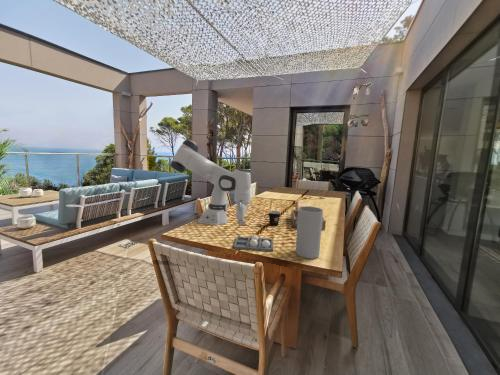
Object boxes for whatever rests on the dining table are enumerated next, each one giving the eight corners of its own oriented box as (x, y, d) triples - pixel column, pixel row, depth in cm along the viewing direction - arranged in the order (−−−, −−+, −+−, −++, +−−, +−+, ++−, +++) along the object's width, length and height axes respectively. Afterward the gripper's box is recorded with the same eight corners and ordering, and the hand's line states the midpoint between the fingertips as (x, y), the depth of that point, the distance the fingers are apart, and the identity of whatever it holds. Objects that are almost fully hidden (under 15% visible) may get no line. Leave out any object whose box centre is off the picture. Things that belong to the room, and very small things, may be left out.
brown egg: (245, 227, 122) (245, 218, 122) (236, 226, 122) (237, 218, 122) (246, 225, 127) (246, 217, 126) (238, 224, 127) (238, 216, 127)
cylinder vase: (323, 258, 116) (327, 212, 112) (300, 259, 114) (304, 212, 110) (312, 248, 128) (316, 206, 124) (292, 249, 126) (295, 206, 122)
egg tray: (233, 249, 123) (233, 246, 123) (237, 239, 138) (237, 236, 138) (273, 252, 121) (273, 249, 121) (272, 241, 136) (272, 238, 136)
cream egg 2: (249, 248, 124) (249, 240, 123) (249, 245, 128) (250, 237, 128) (257, 249, 123) (257, 241, 123) (257, 245, 128) (258, 238, 127)
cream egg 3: (261, 249, 123) (261, 241, 123) (261, 245, 128) (262, 238, 127) (269, 249, 123) (270, 242, 122) (269, 246, 127) (270, 238, 127)
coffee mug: (279, 223, 172) (280, 211, 170) (279, 227, 163) (280, 214, 162) (264, 222, 173) (264, 210, 171) (263, 226, 164) (264, 213, 163)
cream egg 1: (250, 243, 131) (250, 236, 130) (250, 240, 135) (251, 233, 135) (258, 244, 130) (258, 236, 130) (258, 240, 135) (258, 233, 134)
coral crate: (293, 228, 162) (294, 218, 161) (290, 218, 187) (291, 210, 186) (324, 230, 160) (325, 220, 159) (317, 219, 185) (318, 211, 184)
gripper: (245, 202, 112) (245, 229, 114) (249, 195, 132) (249, 217, 134) (233, 202, 112) (232, 228, 114) (239, 194, 132) (238, 217, 135)
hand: (241, 222), depth 124 cm, fingers closed on brown egg, 5 cm apart
